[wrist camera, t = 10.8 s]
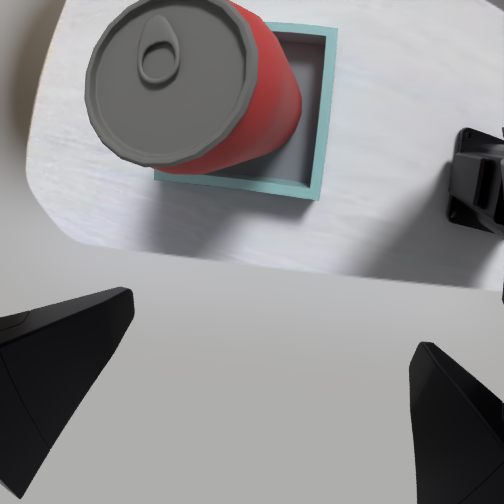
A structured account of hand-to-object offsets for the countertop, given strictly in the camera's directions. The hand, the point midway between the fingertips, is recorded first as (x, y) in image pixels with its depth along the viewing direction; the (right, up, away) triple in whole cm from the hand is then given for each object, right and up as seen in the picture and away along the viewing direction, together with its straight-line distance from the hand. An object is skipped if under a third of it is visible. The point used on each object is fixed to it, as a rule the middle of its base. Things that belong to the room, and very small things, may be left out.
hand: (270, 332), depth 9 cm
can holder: (-1, +12, +10) cm, 15 cm away
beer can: (-1, +11, +10) cm, 15 cm away
